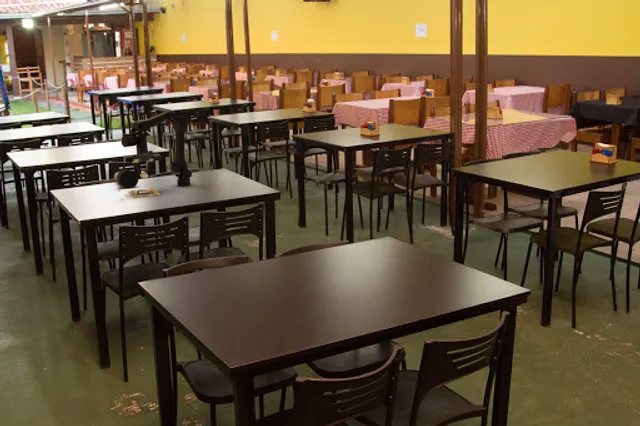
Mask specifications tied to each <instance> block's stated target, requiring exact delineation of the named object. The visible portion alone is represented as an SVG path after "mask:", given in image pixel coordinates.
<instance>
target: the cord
mask: <svg viewBox="0 0 640 426" xmlns="http://www.w3.org/2000/svg"><path fill="white" fill-rule="evenodd" d="M139 176H140V177H141V178H142V179H143V180H148V178H149V173H148V174H147V172H146V171H145V170H143V171H142V170H141V175H140V174H139Z"/></svg>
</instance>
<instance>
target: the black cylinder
mask: <svg viewBox="0 0 640 426" xmlns="http://www.w3.org/2000/svg"><path fill="white" fill-rule="evenodd" d="M113 178H114V180H115V181H116V182H117V184H118V185H119V186H120V187H122V188H125V189H134V188H135V187H136V186H137V185H138V183H139V176H138V174H137V173H136V172H135V171H134V170H130V169H122V170H120V171H118V172H115V174H114V177H113Z"/></svg>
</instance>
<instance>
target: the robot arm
mask: <svg viewBox="0 0 640 426" xmlns="http://www.w3.org/2000/svg"><path fill="white" fill-rule="evenodd" d="M165 121H168V122H170V123H172V128H173V130H174V132H175V159H174V161H171V171H172V173H173V174H174V175H175V177H177V179H176V186H177V187H188V186H189V187H190V186H191V178H192V176H193V172H192V171H190V170H189V168H188V163H187V161H186V159H185V158H186V155H185V150H186V149H185V148H186V147H185V145H186V143H185V140H186V139H185V136H186V135H185V134H186V131H187V129H188V124H189V119H188V118H187V117H186V116H181V115H179V114H177V113H174V112H173V111H171V110H165V111H163V112H161V113H159V114H156V115H154V116H151V117H149V118H146V119H140V120H135V121H133V124H132V127H131V128H130V131H129V133H123V134H122V137H121V139H120V142H121V145H122V147H123V148H130V147H135V149H136V156H132V155H126V156H124V157H123V162H124V163H125V164H130V163H132V164H133V165H135V166H136V169H137V171H138V172H139V176H140V175H141V172H142V170H141V163H140V162H139V161H141V162H145V161H146V167H145V168H146V169H145V172H146V173H147V174H148V175H149V171H150V169H151V168H150V167H151V165H152V163H154V161H162V160H163V157H162V155H161V154H159V153H155V154H154V151H153V150H149V149H148V137H151V134H150V133H149V132H148V131H149V130H151V128H152V127H153V126H156V125H159V124H160V123H163V122H165Z"/></svg>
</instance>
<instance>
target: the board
mask: <svg viewBox="0 0 640 426" xmlns="http://www.w3.org/2000/svg"><path fill="white" fill-rule="evenodd" d="M127 193H128V194H129V195H130V197H131V198H132V199H139V198H140V199H141V198H149V197H157V196H161V193H159V192H158V191H157V189H155V187H153V188H152V187H151V188H143V189H133V190H127Z"/></svg>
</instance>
